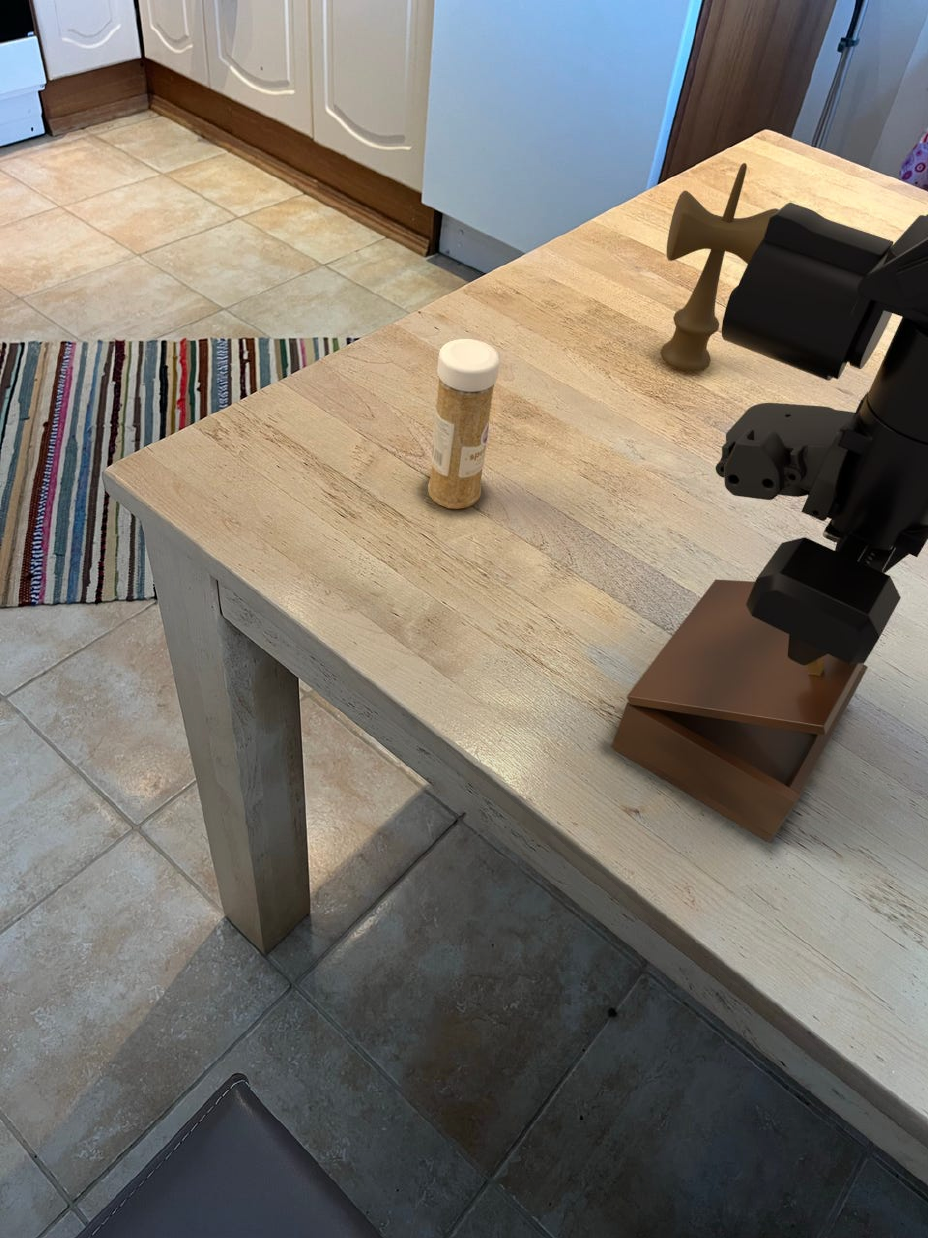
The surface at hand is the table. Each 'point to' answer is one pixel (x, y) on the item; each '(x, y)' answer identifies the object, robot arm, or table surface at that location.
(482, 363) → the spice jar
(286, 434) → the table surface
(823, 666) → the lid
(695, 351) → the kendama
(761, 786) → the keepsake box
